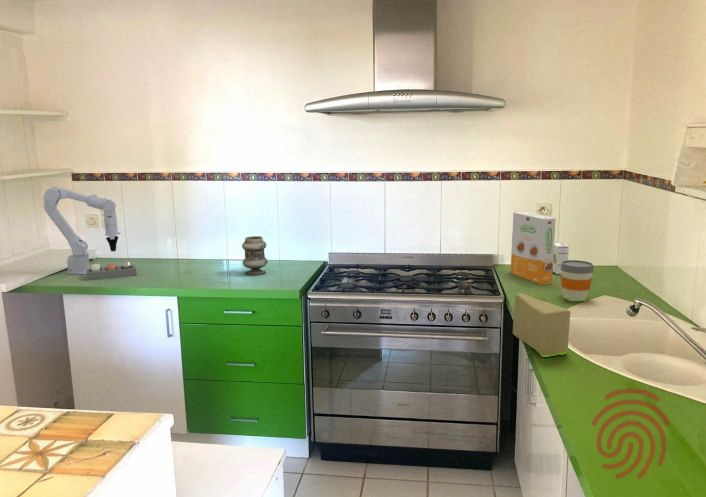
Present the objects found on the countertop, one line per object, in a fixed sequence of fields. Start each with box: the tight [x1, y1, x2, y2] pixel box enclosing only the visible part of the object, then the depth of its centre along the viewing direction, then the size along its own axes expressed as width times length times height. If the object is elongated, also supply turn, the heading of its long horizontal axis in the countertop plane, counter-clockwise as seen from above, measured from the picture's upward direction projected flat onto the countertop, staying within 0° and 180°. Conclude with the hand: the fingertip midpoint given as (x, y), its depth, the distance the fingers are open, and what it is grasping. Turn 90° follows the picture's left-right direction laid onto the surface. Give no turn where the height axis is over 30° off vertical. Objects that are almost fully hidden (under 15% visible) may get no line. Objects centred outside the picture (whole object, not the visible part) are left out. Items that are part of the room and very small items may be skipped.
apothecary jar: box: [241, 235, 268, 277], centre depth 283 cm, size 12×12×18 cm
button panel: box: [85, 264, 137, 281], centre depth 281 cm, size 9×22×4 cm, turn 113°
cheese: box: [512, 293, 571, 355], centre depth 186 cm, size 22×10×15 cm, turn 18°
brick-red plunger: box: [106, 263, 116, 270], centre depth 281 cm, size 4×4×4 cm
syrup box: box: [552, 242, 570, 275], centre depth 278 cm, size 6×6×14 cm
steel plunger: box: [121, 260, 132, 269], centre depth 283 cm, size 4×4×4 cm
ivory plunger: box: [90, 263, 101, 272], centre depth 278 cm, size 4×4×4 cm
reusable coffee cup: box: [560, 259, 594, 300], centre depth 237 cm, size 12×12×15 cm
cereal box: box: [510, 211, 556, 285], centre depth 268 cm, size 22×6×30 cm, turn 20°
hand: (113, 251), depth 291 cm, fingers closed
